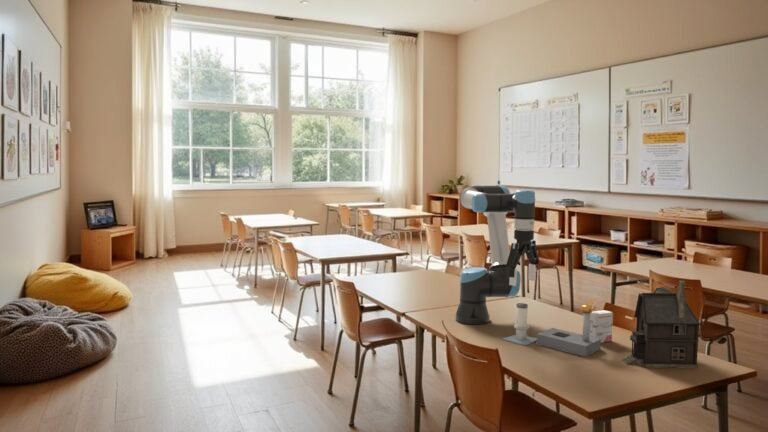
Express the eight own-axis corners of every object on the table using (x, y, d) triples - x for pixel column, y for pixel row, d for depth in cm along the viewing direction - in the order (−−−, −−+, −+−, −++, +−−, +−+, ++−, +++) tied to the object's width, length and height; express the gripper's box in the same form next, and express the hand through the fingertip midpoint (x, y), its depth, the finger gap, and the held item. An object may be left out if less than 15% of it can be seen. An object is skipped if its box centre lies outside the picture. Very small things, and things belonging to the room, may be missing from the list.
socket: (536, 343, 217) (537, 306, 216) (552, 337, 226) (553, 301, 224) (585, 356, 203) (586, 316, 202) (600, 349, 211) (601, 310, 210)
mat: (503, 339, 223) (503, 338, 223) (517, 334, 230) (517, 333, 230) (525, 345, 215) (525, 344, 215) (538, 340, 222) (538, 339, 222)
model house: (612, 351, 209) (615, 272, 207) (675, 352, 209) (679, 273, 206) (629, 367, 193) (633, 281, 190) (698, 368, 192) (703, 282, 190)
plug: (510, 338, 223) (511, 304, 221) (518, 335, 227) (519, 301, 225) (523, 342, 218) (524, 307, 217) (531, 338, 222) (532, 304, 221)
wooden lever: (589, 309, 221) (589, 297, 221) (598, 310, 219) (599, 298, 219) (580, 318, 208) (581, 306, 207) (590, 320, 206) (591, 307, 205)
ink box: (603, 337, 226) (604, 309, 225) (612, 341, 221) (613, 312, 220) (586, 340, 222) (587, 311, 221) (595, 343, 218) (596, 314, 217)
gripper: (514, 233, 207) (512, 289, 209) (549, 227, 224) (547, 279, 227) (497, 231, 213) (496, 285, 215) (532, 226, 230) (531, 276, 232)
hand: (522, 282), depth 221 cm, fingers open, 13 cm apart
